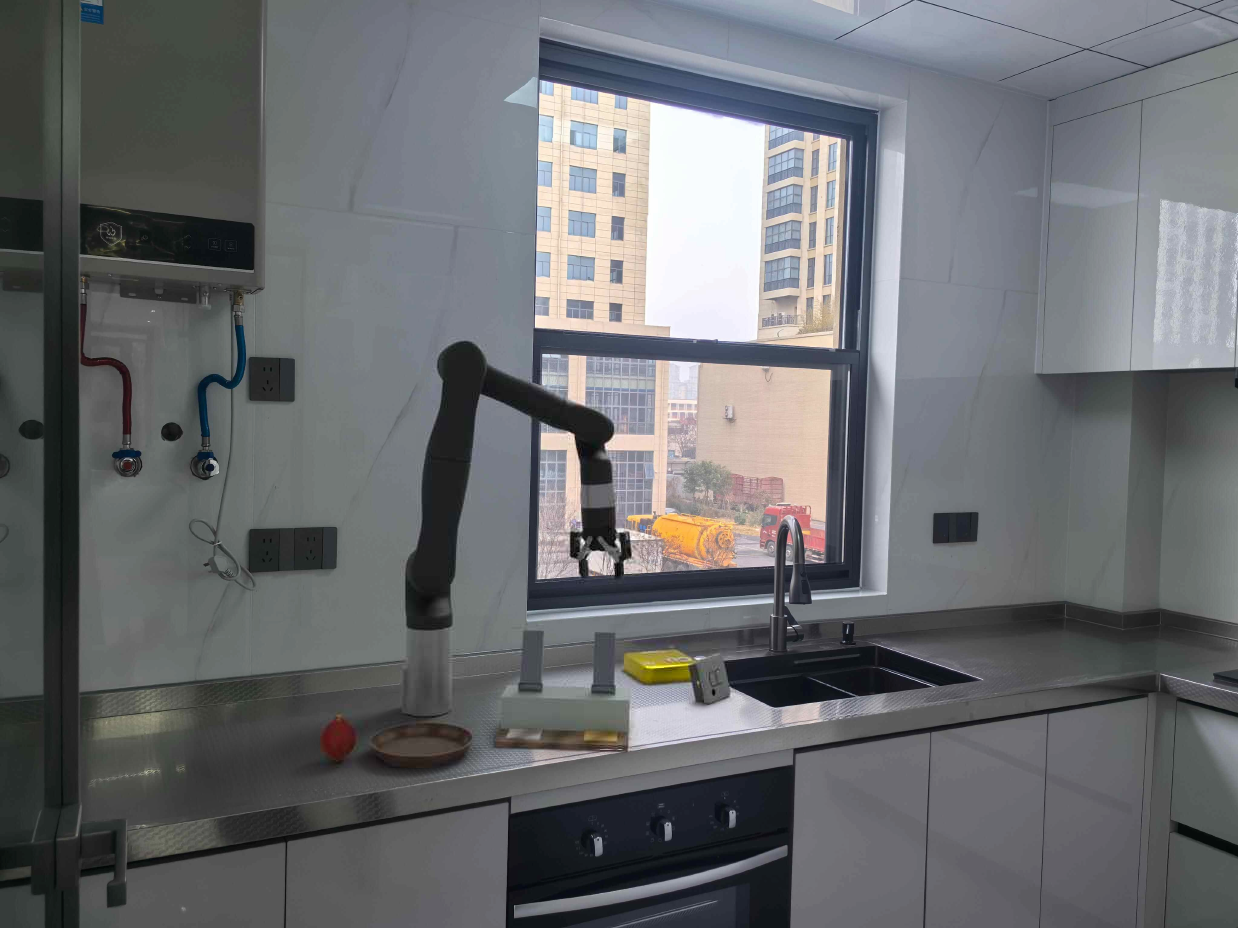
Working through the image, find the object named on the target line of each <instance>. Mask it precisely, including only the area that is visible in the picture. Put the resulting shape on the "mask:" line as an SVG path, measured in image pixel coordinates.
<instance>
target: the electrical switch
mask: <svg viewBox="0 0 1238 928" xmlns="http://www.w3.org/2000/svg"><path fill="white" fill-rule="evenodd" d="M688 668H689V672H690V677H691V681H690V682H691V685H692V686H691V687H692V691H693V695H694V700H695V701H696V702H699V701H704V703H705V705H709V704H712V703H715V702H717V701H719V700H722V699H724V698H727V697H729V696H731V689H730V683H729V681H728V680H729V679H728V675H727V671H726V666H725V662H724V657H723V655H722V654H721V653H715V654H712V655H710V656H706V657H703V658H700V659H697V662H696V663H693V664H690V665H688ZM696 678H697V679H696Z"/></svg>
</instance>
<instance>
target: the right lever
mask: <svg viewBox="0 0 1238 928" xmlns="http://www.w3.org/2000/svg"><path fill="white" fill-rule="evenodd" d="M616 633H617V632H602V631H601V632H598V631H597V632H596V631H594V649H593V651H594V652H593V675H592V676H593V678H592V684H591V686H590V687H591V693H615V692H616V688H617V687H616V686H617V685H616V684H615V669H616V667H615V665H616V638H617V637H616V636H617V634H616Z"/></svg>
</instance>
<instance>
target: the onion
mask: <svg viewBox="0 0 1238 928" xmlns="http://www.w3.org/2000/svg"><path fill="white" fill-rule="evenodd" d="M356 741H357V734H356V731H355V728H354V726H353V725H352V724H351V723H350V722H349V721H347V720H346V719H344V718H343V716H342V715H341V714H336V715H335V716H334V717H333V720H332V721H330V722H328V724H327V725H326V726H325V727H324V729H323V730H322V732H321V734H320V739H319V745H320V748H321V750H322V752H323V753H324V754H325V755H326V756H327V757H330V759H332V761H334V762H336V763H337V762H338V763H339V762H340V761H343V760H344V758H346V757H348V756H349V754H350V753H351V752H352V751H353V750H354V748H355V746H356V743H357V742H356Z"/></svg>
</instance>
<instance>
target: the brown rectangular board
mask: <svg viewBox="0 0 1238 928" xmlns="http://www.w3.org/2000/svg"><path fill="white" fill-rule="evenodd" d="M629 732H630V731H629ZM629 732H612V731H564V730H542V729H501V728H500V729H499V731H498V733H497V735H496V737H495V738H494V741H493V747H494V748H515V749H516V748H517V749H519V748H521V749H554V750H556V749H557V750H581V749H622V750H628V748H629V736H628V735H629V734H630V733H629Z"/></svg>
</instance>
